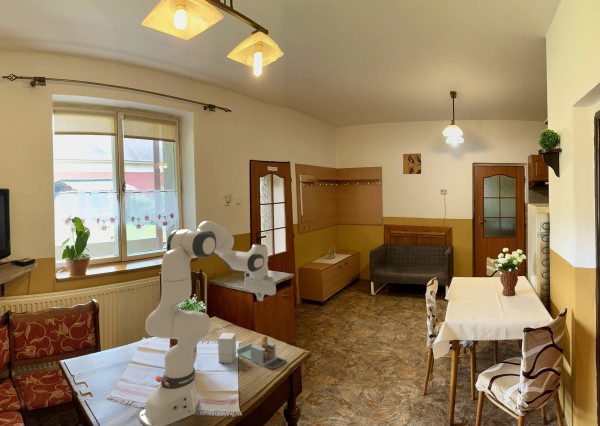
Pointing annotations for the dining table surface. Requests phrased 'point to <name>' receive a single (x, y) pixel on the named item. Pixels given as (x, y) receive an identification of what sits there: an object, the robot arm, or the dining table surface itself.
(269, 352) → the tan tall piece
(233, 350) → the supplement box
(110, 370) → the dining table surface
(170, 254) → the robot arm
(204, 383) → the dining table surface
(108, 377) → the dining table surface
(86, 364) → the dining table surface
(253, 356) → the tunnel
